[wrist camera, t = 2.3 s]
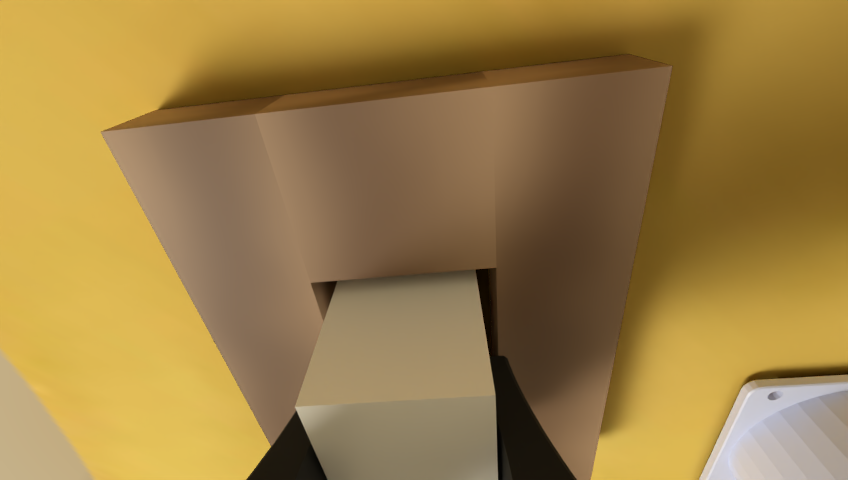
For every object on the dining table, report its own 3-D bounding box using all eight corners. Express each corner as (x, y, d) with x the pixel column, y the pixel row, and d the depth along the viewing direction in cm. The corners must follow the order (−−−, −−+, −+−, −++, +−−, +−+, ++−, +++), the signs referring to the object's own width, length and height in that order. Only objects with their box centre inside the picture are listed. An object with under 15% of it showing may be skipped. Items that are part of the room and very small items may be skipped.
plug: (471, 244, 12) (495, 395, 8) (479, 373, 15) (499, 537, 11) (346, 254, 13) (294, 406, 8) (378, 379, 16) (355, 541, 11)
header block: (628, 53, 9) (672, 65, 8) (573, 443, 18) (588, 491, 16) (155, 110, 10) (100, 132, 9) (313, 455, 18) (301, 502, 17)
